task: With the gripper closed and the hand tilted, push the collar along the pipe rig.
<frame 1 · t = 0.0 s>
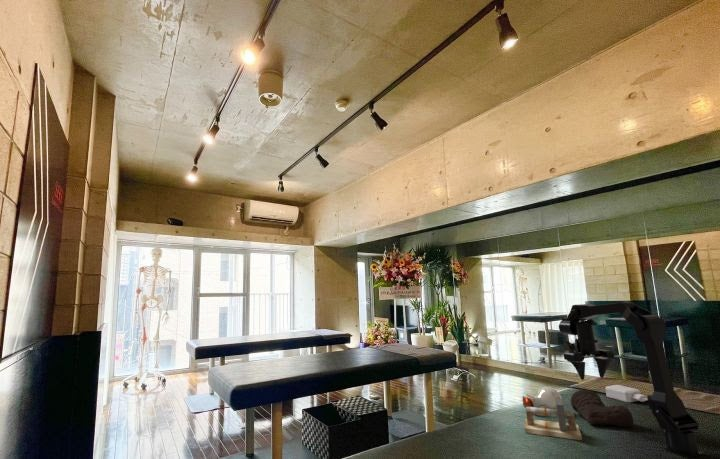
hand: (592, 378, 132), 15 cm above the table, tool pointing down, fingers open, 9 cm apart
potion bottle: (544, 412, 140), on the table
collar: (560, 413, 120), point 6 cm above the table, slide at -2.0 cm
charger: (631, 401, 150), on the table
pipe rig: (556, 431, 120), on the table
brown curved lump: (601, 422, 128), on the table
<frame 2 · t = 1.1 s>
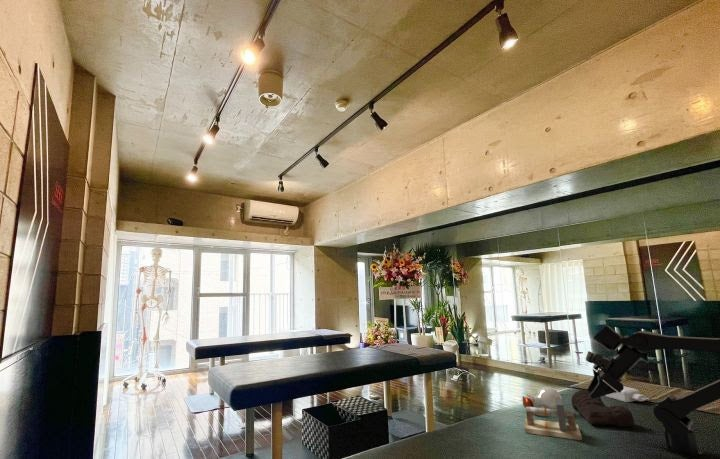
hand: (589, 394, 118), 13 cm above the table, tool tilted 45°, fingers open, 8 cm apart
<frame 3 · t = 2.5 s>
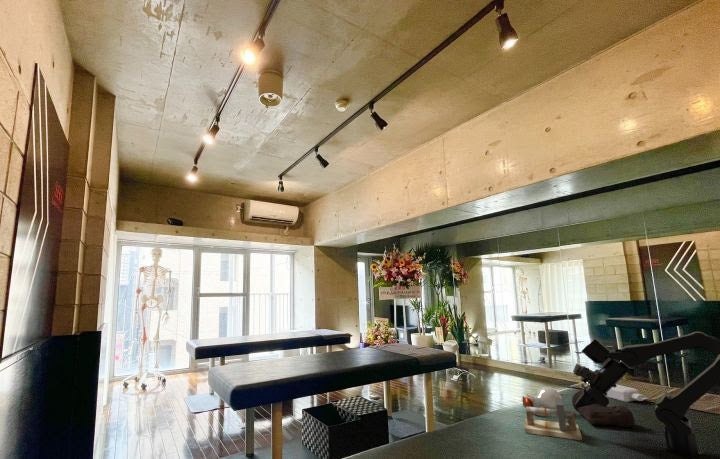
hand: (576, 406, 119), 9 cm above the table, tool tilted 45°, fingers closed
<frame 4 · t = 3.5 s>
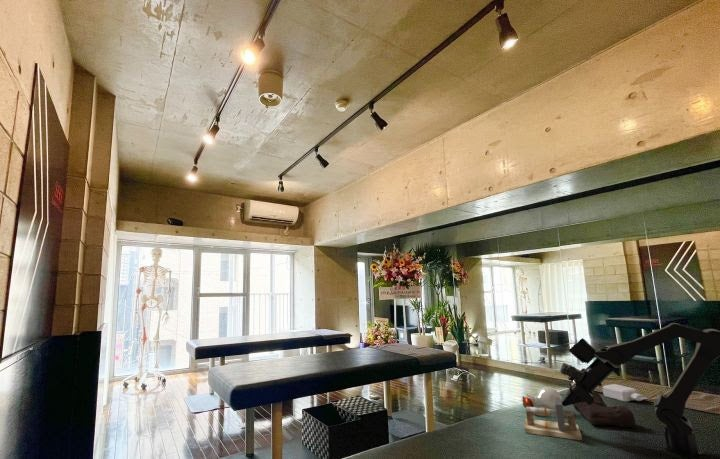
hand: (562, 404, 120), 9 cm above the table, tool tilted 45°, fingers closed, pressing on collar
collar: (559, 413, 120), point 6 cm above the table, slide at -1.7 cm, touching gripper
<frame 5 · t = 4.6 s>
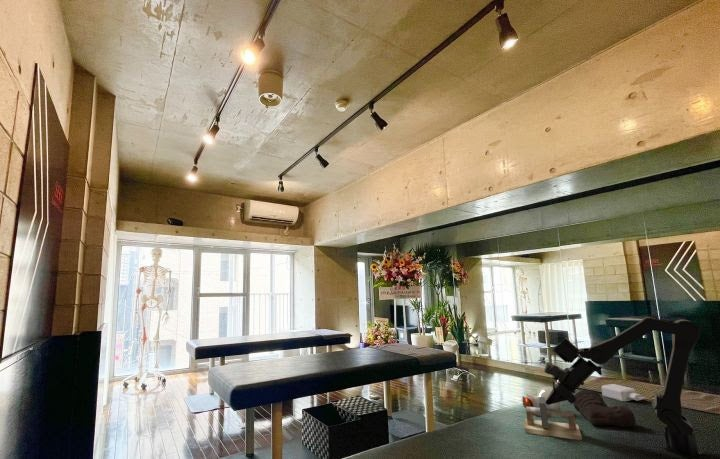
hand: (546, 403, 122), 9 cm above the table, tool tilted 45°, fingers closed, pressing on collar
collar: (543, 412, 122), point 6 cm above the table, slide at 3.4 cm, touching gripper
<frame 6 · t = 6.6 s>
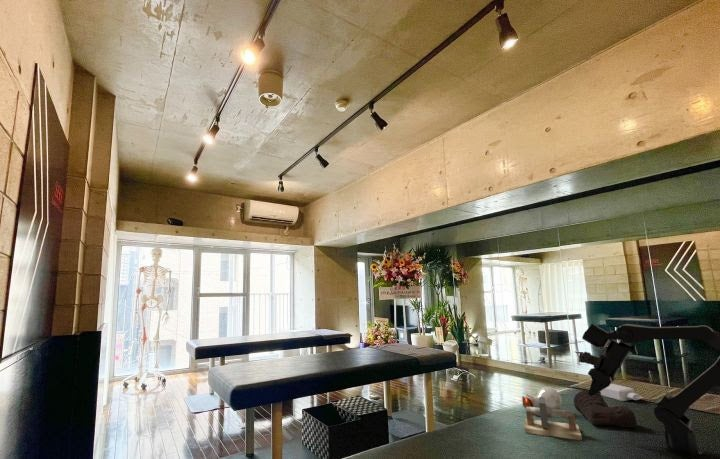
hand: (589, 395, 119), 13 cm above the table, tool tilted 35°, fingers closed
collar: (543, 412, 122), point 6 cm above the table, slide at 3.5 cm
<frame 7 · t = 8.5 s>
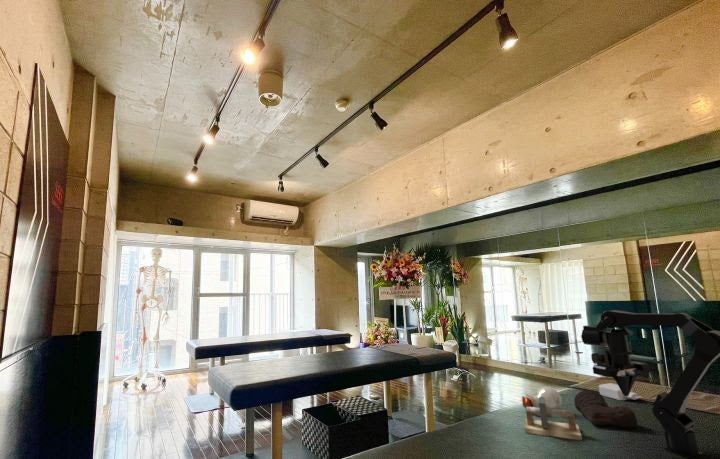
hand: (626, 395, 115), 13 cm above the table, tool pointing down, fingers closed
at the end: collar slide at 3.5 cm; potion bottle moved 0.4 cm from its start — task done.
